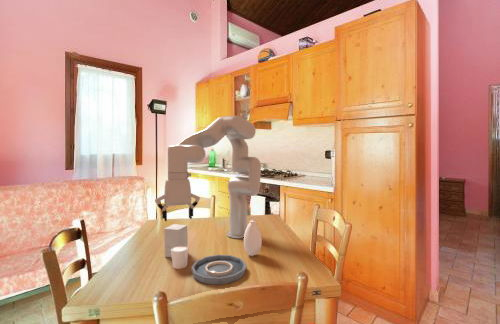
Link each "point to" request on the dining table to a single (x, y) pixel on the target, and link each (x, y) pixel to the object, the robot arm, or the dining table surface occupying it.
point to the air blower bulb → (252, 238)
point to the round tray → (218, 269)
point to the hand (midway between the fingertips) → (178, 219)
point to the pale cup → (179, 256)
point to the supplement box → (175, 237)
